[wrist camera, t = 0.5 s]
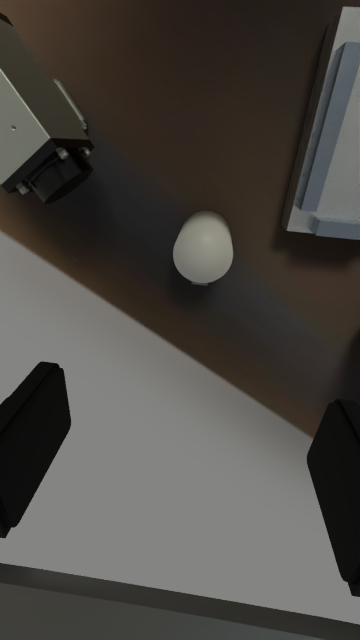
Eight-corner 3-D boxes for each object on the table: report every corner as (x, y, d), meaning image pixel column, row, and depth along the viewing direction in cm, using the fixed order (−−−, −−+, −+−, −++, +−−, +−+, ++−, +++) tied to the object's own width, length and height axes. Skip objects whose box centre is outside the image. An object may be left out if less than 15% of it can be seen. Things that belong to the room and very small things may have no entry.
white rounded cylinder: (182, 208, 29) (174, 221, 24) (234, 213, 29) (237, 227, 23) (178, 272, 32) (170, 296, 27) (224, 276, 32) (225, 302, 27)
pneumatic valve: (30, 18, 23) (-123, -85, 13) (123, 162, 27) (66, 172, 17) (-13, 70, 25) (-175, 17, 15) (80, 196, 29) (6, 224, 19)
